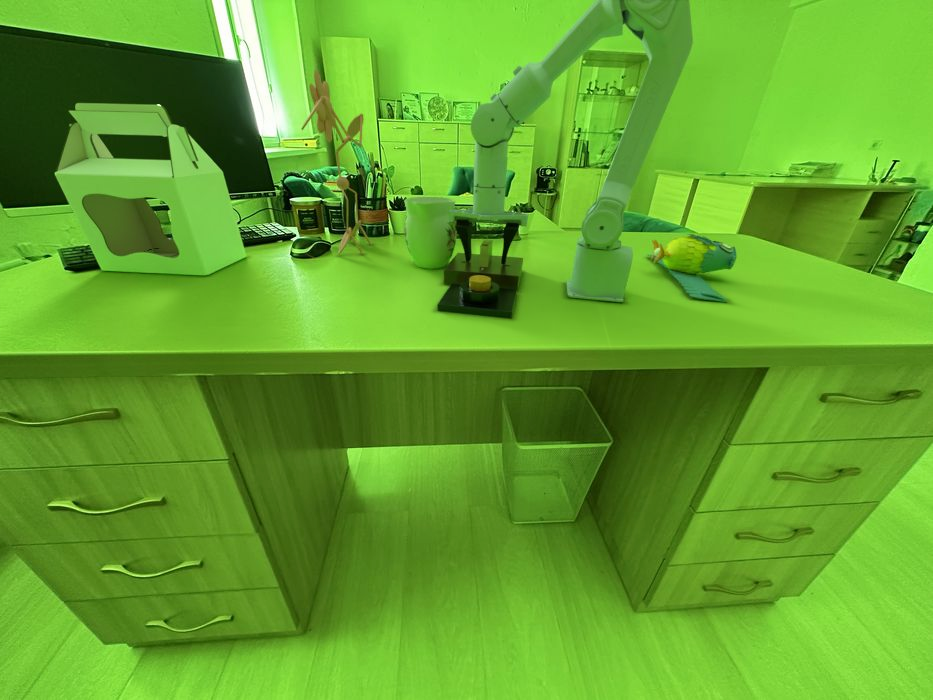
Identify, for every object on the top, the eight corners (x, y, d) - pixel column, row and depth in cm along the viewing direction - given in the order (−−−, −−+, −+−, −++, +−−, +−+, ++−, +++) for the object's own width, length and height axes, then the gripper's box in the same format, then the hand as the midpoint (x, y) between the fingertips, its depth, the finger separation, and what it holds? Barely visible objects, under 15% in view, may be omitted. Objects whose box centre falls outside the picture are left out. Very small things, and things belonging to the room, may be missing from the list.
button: (491, 285, 63) (492, 276, 62) (488, 293, 60) (489, 283, 59) (471, 284, 63) (471, 274, 62) (467, 291, 60) (467, 281, 59)
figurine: (381, 237, 101) (366, 80, 84) (358, 265, 79) (331, 60, 62) (325, 235, 101) (299, 79, 84) (286, 263, 79) (239, 57, 61)
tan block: (483, 258, 75) (484, 237, 73) (491, 259, 75) (492, 238, 72) (479, 266, 70) (480, 244, 68) (487, 267, 70) (488, 245, 68)
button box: (516, 295, 66) (518, 279, 64) (511, 318, 58) (513, 300, 56) (451, 289, 68) (451, 273, 66) (437, 311, 59) (437, 293, 58)
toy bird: (640, 218, 86) (708, 223, 85) (630, 255, 90) (695, 260, 89) (686, 249, 62) (782, 257, 61) (669, 297, 66) (758, 305, 65)
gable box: (99, 271, 72) (15, 99, 58) (154, 252, 84) (94, 105, 70) (208, 276, 71) (148, 102, 57) (248, 257, 82) (206, 108, 68)
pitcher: (461, 253, 89) (462, 192, 82) (451, 277, 74) (451, 204, 67) (416, 250, 90) (414, 190, 83) (397, 274, 75) (392, 202, 68)
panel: (521, 271, 78) (523, 256, 76) (517, 291, 68) (519, 275, 66) (457, 266, 80) (457, 251, 79) (443, 284, 70) (443, 268, 68)
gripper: (444, 186, 63) (445, 264, 70) (529, 191, 61) (521, 270, 68) (453, 182, 69) (453, 254, 76) (531, 186, 67) (523, 260, 74)
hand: (485, 261), depth 72 cm, fingers open, 6 cm apart
